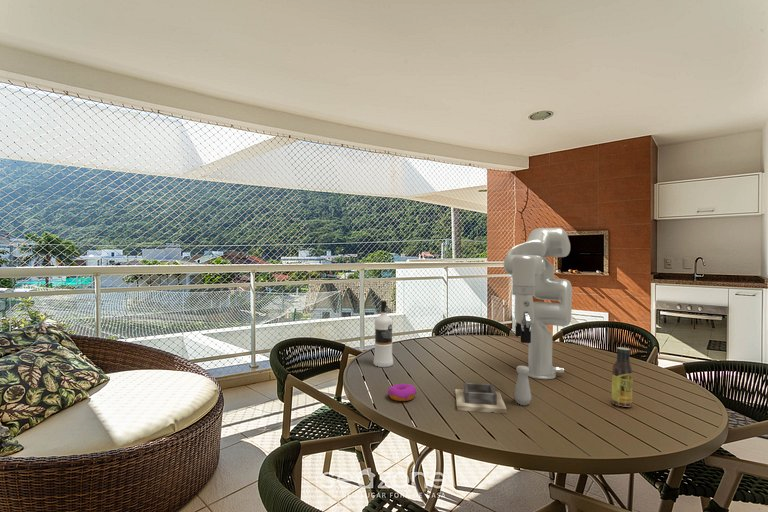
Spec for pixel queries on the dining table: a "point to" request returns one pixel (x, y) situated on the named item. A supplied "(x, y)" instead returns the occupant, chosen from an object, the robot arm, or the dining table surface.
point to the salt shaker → (522, 386)
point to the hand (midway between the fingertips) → (522, 339)
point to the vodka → (383, 339)
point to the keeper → (479, 398)
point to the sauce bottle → (622, 379)
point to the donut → (402, 392)
